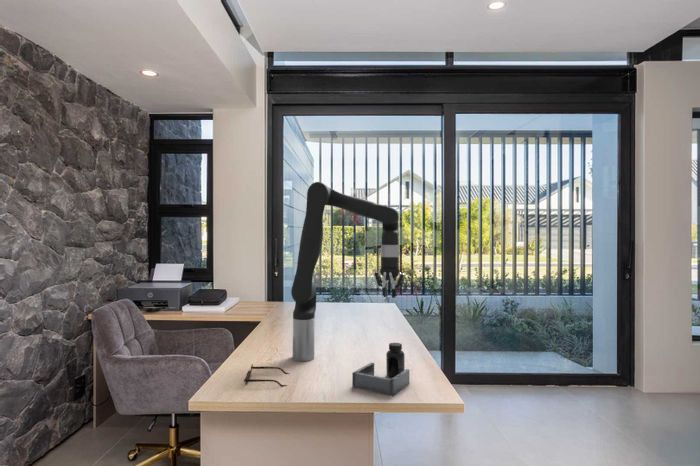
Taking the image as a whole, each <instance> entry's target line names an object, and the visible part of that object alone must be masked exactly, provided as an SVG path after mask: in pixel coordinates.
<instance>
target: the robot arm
mask: <svg viewBox="0 0 700 466" xmlns="http://www.w3.org/2000/svg"><path fill="white" fill-rule="evenodd" d="M326 206H329V207H335V208H337V209H338V208H339V209H342V210H345V211H347V212H350V213H352V214H354V215H358V216H360V217H363V218H367V219H370V220H371V219H372V220H375V221H377V222H380V223H381V224H382V225H381V227H382V232H381V247H380V270H379V271H376V272H374V273H373V274H374V277H375V280H376V283H377V285H378V287H381V288H382V297H383V298H384V297H385V298H386V297H388V283H389V281H390V283H391V286H392V287H391V288H392V289H391V297H392V298H393V299H395V298H396V297H397V295H398V292H397V291H398V288H401V287H402V285H403V282H404V281H405V278H406V274H405V273H402V272H400V269H399V268H400V248H399V212H398V210H397V209H395V208H394V207H392V206H391V207H390V206H387V205H384V204H383V205H382V204H378V203H376V202H373V201H371V200H368V199H364V198H362V197H361V198H360V197H356V196H352V195H347V194H345V193H342V192H339V191H337V190H335V189H333V188H331V187H330V186H328V185H327V184H325V183H323V182H321V181H316V182H312V183H311V184H310V185H309V187H308V188H307V194H306V207H305V208H306V209H305V217H304V220H303V225H302V230H301V236H300V241H299V249H298V254H297V255H298V256H297V263H296V264H297V265H296V272H295V275H294V279H293V283H292V287H291V289H290V294H291V298H292V299H293V301H294V302H295V306H294V309H293V311H292V312H293V313H292V355H291V356H292V361H297V362H308V361H312V360H314V359H315V326H316V323H315V321H316V320H315V319H316V318H315V315H316V311H317V310H316V309H317V288H316V284H315V283H314V282H313V279H314V278H313V277H314V271H315V269H316V266H317V263H318V260H319V258H320V256H321V255H320V254H321V251H322V248H323V247H322V246H323V239H324V223H323V222H324V221H323V220H324V219H323V218H324V212H325V208H326ZM397 278H398V279H397Z"/></svg>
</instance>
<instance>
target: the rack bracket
mask: <svg viewBox="0 0 700 466" xmlns="http://www.w3.org/2000/svg"><path fill="white" fill-rule="evenodd" d="M351 377H352V378H351V379H352V381H351V382H352V384H351V386H352V388H354V389H358V388H359V389H360V390H364V391H367V392H373V393H378V394H382V395H386V396H390V397H394V396H395V395H396V394H397V393H399V392H400V391H402V390H403V389H404V388H405V387H407V386H408V385H409V384H410V369H408V368H406V369H405V370H404V371H403V372H401V373H400V374H398V375H397V376H395V377H394V378H389V377H381V376H378V375H375V362H370V363H368V364H366V365H364V366H362V367H361V368H358V369H356V370H355V371H353V372H352V376H351Z"/></svg>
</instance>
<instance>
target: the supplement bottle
mask: <svg viewBox="0 0 700 466" xmlns="http://www.w3.org/2000/svg"><path fill="white" fill-rule="evenodd" d="M402 349H403V347H402V343H400V342H389V344H388V351H386V354H385V356H386V359H385V360H386V363H385V365H386V376H387V378H388V379H392V378H394V377H395V376H397V375H398V374H400V373H401V372H403V371H404V370H406V369H405V368H406V367H405V360H406V359H405V358H406V357H405V356H406V355H405V352H404V351H403V350H402Z"/></svg>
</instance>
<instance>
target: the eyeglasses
mask: <svg viewBox="0 0 700 466" xmlns="http://www.w3.org/2000/svg"><path fill="white" fill-rule="evenodd" d="M261 369H262V370H264V369H265V370H266V369H268V370H270V369H273V370H275V369H276V370H280V371H281V372H282V373H283V374H284V375H290V373H288V372H286V371H285V370H284V369H282V368H281V367H277V366H254V364H251V367H250V370H247V373H246V375H245V378H244V379H243V382H244V384H245V386H247V384H248V383H249V382H250V383H253V382H254V383H256V382H263V383H264V382H271V383H272V382H273V383H276V384H277V385H279V386H280V387H281V388H282V387H287V386H288V385H286V384H284V385H283V384H281V382H279V381H278V380H275V379H256V378H255V379H252V378H251V377H252V371H253V370H261Z"/></svg>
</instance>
